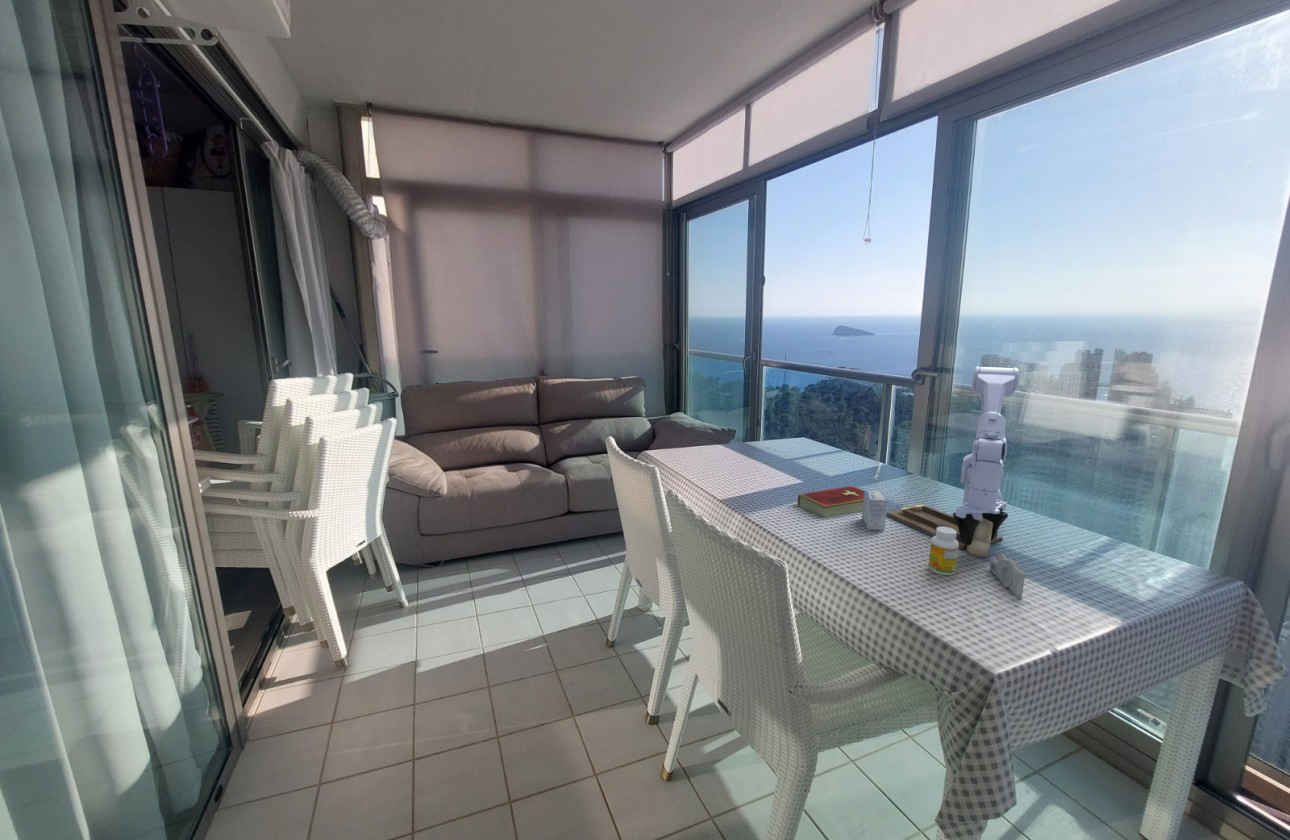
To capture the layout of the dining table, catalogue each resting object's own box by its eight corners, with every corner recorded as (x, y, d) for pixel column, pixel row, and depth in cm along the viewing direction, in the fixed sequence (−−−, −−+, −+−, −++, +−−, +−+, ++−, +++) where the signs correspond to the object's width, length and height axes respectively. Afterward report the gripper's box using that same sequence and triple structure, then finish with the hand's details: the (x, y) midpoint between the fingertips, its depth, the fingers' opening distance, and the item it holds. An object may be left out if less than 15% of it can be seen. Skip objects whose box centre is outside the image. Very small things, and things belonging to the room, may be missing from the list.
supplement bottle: (923, 564, 120) (928, 525, 118) (947, 564, 120) (952, 525, 118) (935, 575, 115) (940, 534, 113) (960, 576, 115) (965, 535, 113)
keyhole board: (922, 508, 155) (923, 500, 154) (1001, 540, 133) (1003, 531, 132) (886, 515, 150) (887, 507, 149) (962, 549, 128) (963, 539, 127)
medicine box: (884, 531, 139) (887, 500, 137) (867, 529, 140) (869, 499, 138) (877, 520, 146) (880, 490, 145) (861, 518, 147) (863, 489, 146)
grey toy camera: (987, 569, 118) (991, 545, 117) (996, 570, 118) (1000, 545, 116) (1015, 596, 106) (1019, 570, 105) (1024, 597, 106) (1028, 571, 105)
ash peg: (975, 547, 129) (979, 517, 127) (993, 554, 125) (997, 523, 123) (962, 550, 128) (966, 519, 126) (979, 557, 123) (983, 526, 122)
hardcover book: (797, 506, 159) (798, 493, 158) (850, 497, 166) (851, 484, 166) (824, 519, 148) (825, 506, 147) (880, 509, 156) (881, 496, 155)
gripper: (978, 496, 117) (970, 552, 120) (1022, 489, 122) (1014, 543, 125) (950, 487, 124) (944, 540, 126) (993, 480, 129) (986, 531, 131)
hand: (977, 541), depth 126 cm, fingers open, 7 cm apart
